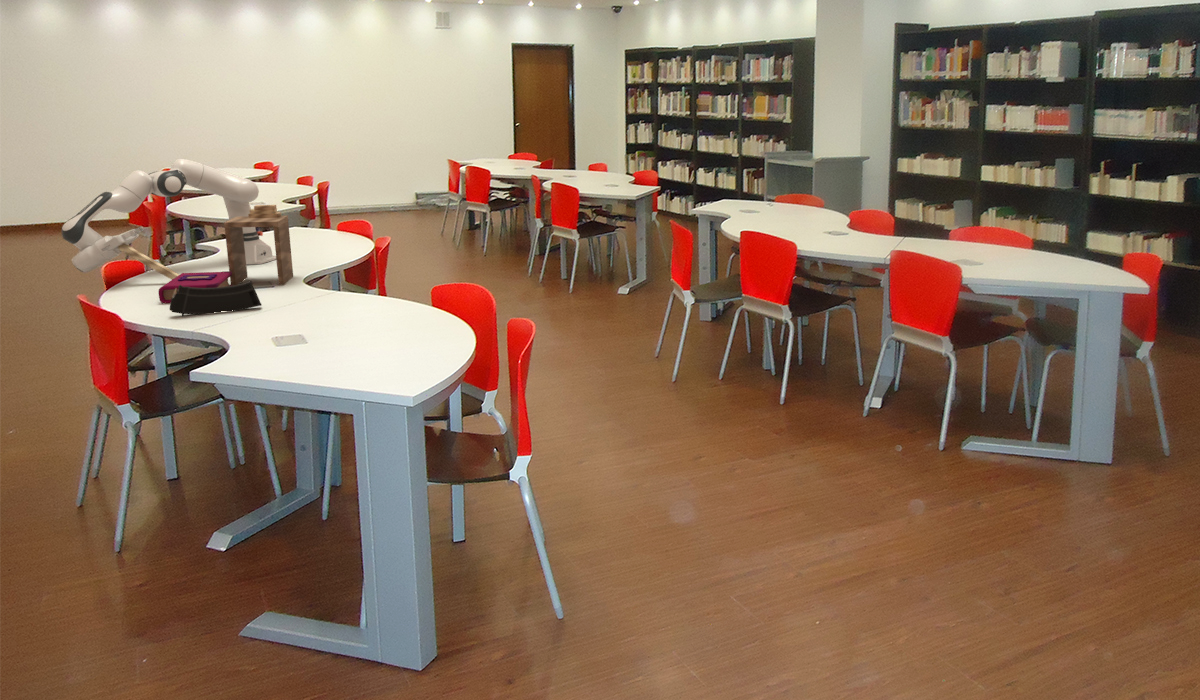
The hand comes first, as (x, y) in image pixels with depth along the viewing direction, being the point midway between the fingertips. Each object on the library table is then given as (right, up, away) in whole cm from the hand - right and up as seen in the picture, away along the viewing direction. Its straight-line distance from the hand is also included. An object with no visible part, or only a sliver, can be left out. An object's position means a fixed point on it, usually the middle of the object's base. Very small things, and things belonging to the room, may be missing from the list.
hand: (138, 229), depth 392 cm
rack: (+47, -20, +11) cm, 52 cm away
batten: (+3, -14, +4) cm, 15 cm away
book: (+31, -28, -16) cm, 45 cm away
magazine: (+50, -36, -45) cm, 77 cm away
